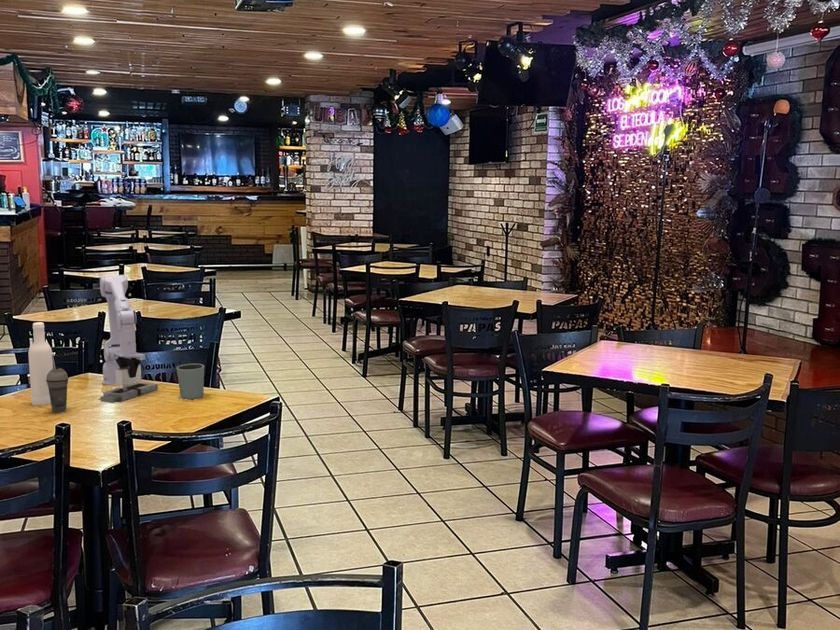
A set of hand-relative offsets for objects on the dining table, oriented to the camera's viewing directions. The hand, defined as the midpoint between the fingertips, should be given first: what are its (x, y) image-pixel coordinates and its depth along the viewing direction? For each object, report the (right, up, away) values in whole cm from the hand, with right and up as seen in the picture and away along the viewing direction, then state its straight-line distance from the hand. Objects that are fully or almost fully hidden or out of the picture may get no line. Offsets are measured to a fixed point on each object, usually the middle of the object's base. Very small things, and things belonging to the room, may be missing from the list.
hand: (129, 376), depth 304 cm
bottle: (-27, -9, -11) cm, 31 cm away
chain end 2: (+2, -6, +7) cm, 9 cm away
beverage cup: (-17, -11, -21) cm, 29 cm away
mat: (-1, -7, +1) cm, 7 cm away
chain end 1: (-3, -8, -5) cm, 10 cm away
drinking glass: (+24, -8, 0) cm, 25 cm away
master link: (0, -2, 0) cm, 2 cm away
